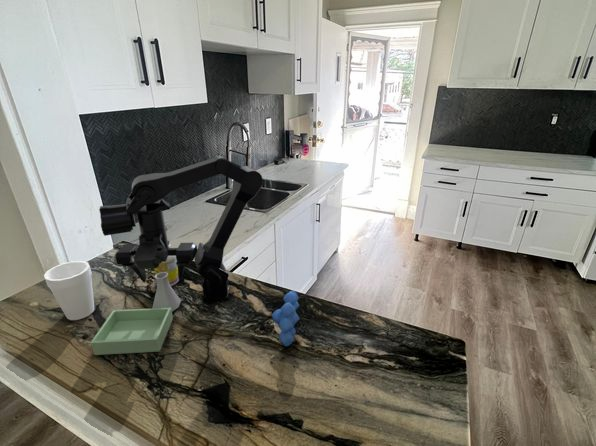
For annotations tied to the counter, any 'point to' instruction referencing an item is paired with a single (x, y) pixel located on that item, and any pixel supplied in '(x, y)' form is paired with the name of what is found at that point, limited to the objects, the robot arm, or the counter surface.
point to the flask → (165, 293)
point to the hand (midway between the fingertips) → (162, 281)
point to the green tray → (133, 331)
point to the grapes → (287, 318)
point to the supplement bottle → (169, 269)
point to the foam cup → (72, 288)
